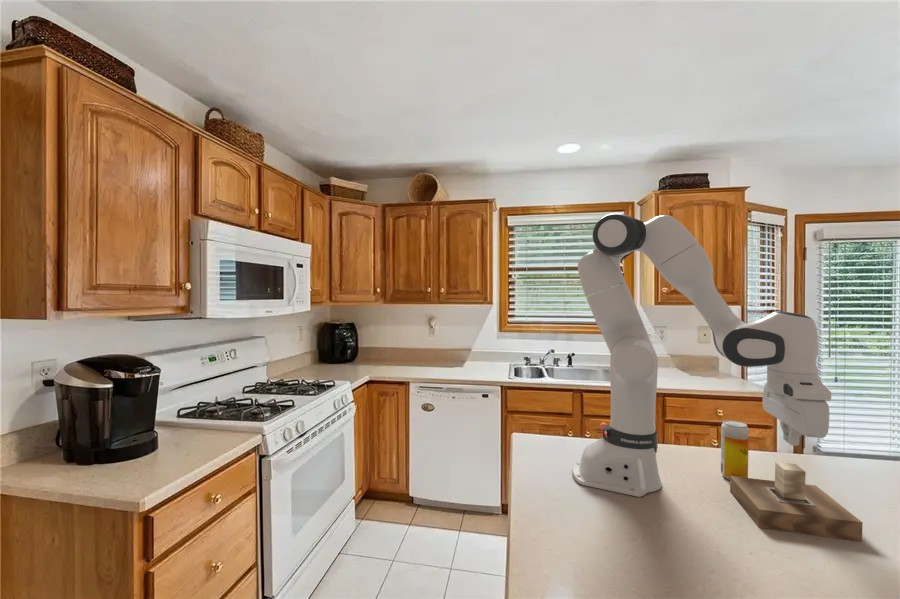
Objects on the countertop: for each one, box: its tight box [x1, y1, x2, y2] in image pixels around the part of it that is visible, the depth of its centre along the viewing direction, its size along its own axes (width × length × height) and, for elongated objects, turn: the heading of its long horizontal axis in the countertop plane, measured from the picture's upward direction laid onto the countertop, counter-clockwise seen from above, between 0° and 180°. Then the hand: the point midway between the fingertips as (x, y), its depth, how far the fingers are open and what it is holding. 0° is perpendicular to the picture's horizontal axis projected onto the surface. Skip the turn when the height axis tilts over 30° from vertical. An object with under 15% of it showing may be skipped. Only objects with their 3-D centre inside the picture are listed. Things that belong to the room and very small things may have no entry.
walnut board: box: [729, 476, 863, 543], centre depth 92 cm, size 18×16×4 cm
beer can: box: [720, 419, 750, 481], centre depth 110 cm, size 6×6×15 cm
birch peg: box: [774, 461, 806, 503], centre depth 92 cm, size 4×4×11 cm
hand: (791, 443), depth 92 cm, fingers closed
